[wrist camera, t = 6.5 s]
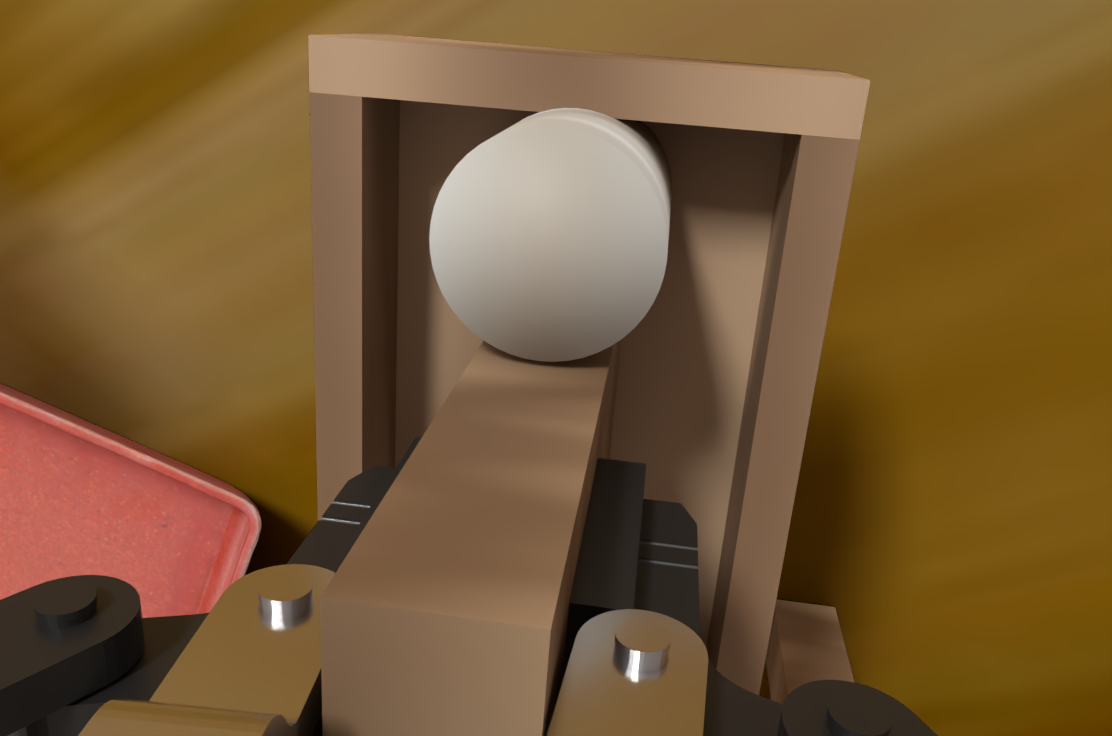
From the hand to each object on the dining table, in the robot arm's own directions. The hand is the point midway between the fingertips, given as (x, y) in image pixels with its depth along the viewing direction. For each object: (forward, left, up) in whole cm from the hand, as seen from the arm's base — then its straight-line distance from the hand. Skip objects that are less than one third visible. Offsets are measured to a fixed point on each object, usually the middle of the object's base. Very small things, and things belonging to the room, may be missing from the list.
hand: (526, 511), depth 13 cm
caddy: (0, 0, -5) cm, 5 cm away
